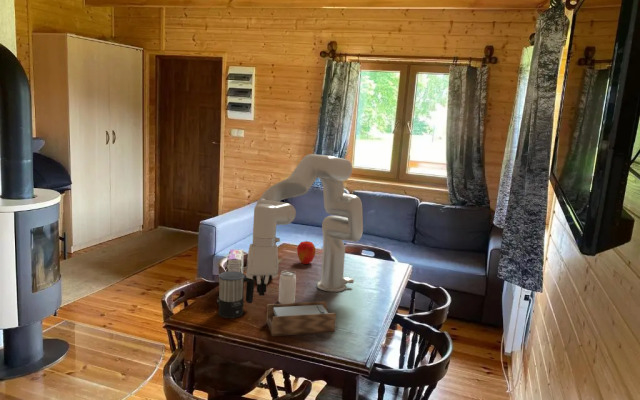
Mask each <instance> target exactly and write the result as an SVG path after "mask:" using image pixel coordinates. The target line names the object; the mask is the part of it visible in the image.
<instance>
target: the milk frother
mask: <svg viewBox="0 0 640 400" xmlns="http://www.w3.org/2000/svg"><path fill="white" fill-rule="evenodd" d="M218 278H219V281H218V282H219V284H218V285H219V286H218V287H219V288H218V289H219V294H218V295H219V296H218V297H217V299H216V304H217V305H218V313H217V314H218V316H219V317H222V318H225V319H236V318H239V317H241V316H243V314H244V287H245V286H244V283H246V288H245V289H246V290H245V291H246V292H245V302H246V303H248V304H252V303H253V301H254V289H255V280H254V279H250V278H247V277H246V274H244V272H243V273H240V272H235V271H228V272H227V271H224V272H221V273H219V275H218Z"/></svg>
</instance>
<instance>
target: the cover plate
mask: <svg viewBox="0 0 640 400" xmlns="http://www.w3.org/2000/svg"><path fill="white" fill-rule="evenodd" d="M273 312H274V314H275V316H291V315H308V314H325V313H329V312H327V311H326V309H325V308H324V306H323V305H305V306H287V307H273Z"/></svg>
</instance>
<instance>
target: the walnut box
mask: <svg viewBox="0 0 640 400" xmlns="http://www.w3.org/2000/svg"><path fill="white" fill-rule="evenodd" d="M266 305H267V306H266V325H267V328H268V329H269V332H270V334H271V336H272V337H280V336H281V337H283V336H297V335H298V336H299V335H309V334H325V333H335V332H336V317H337V313H336V312H328V301H327V300H325V301H307V302H294V303H284V304H280V303H272V304H266ZM305 305H323V306H324V308H325V309H326V311H327V312H328V313H325V314H308V315H291V316H275V314H274V312H273V307H287V306H305Z"/></svg>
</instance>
